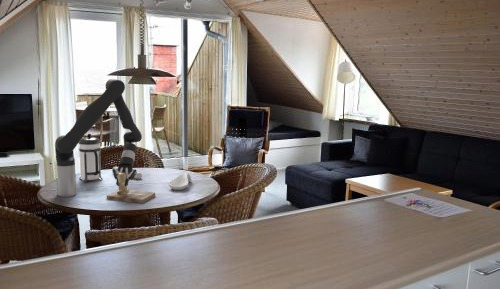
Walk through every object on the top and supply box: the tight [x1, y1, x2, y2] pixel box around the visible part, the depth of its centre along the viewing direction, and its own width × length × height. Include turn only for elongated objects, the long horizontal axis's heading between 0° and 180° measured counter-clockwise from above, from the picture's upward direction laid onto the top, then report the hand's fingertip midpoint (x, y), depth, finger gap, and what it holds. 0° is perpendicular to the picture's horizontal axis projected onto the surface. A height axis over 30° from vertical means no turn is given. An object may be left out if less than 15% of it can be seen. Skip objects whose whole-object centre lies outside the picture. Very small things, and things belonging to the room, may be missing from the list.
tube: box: [111, 166, 143, 180], centre depth 276 cm, size 5×5×25 cm
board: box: [106, 189, 156, 204], centre depth 230 cm, size 22×14×2 cm, turn 75°
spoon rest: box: [167, 172, 193, 191], centre depth 256 cm, size 24×12×7 cm, turn 170°
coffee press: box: [78, 133, 104, 184], centre depth 261 cm, size 17×16×30 cm
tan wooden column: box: [116, 173, 130, 194], centre depth 232 cm, size 5×5×11 cm
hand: (121, 185), depth 230 cm, fingers closed on tan wooden column, 3 cm apart
